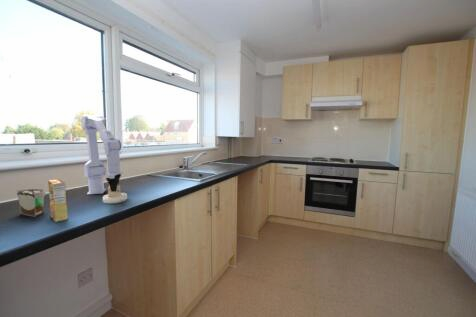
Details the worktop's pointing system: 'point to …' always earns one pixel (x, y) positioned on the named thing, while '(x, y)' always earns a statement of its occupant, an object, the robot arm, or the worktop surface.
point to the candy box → (57, 200)
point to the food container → (31, 201)
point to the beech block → (115, 193)
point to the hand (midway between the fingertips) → (114, 189)
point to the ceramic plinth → (114, 199)
